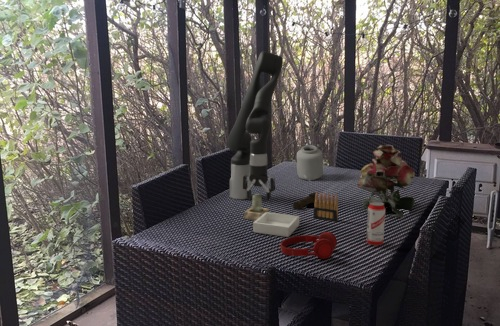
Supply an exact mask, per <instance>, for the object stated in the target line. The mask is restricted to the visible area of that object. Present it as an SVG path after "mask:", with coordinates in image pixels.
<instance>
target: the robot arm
mask: <svg viewBox="0 0 500 326" xmlns="http://www.w3.org/2000/svg"><path fill="white" fill-rule="evenodd" d="M283 63H284V61H283V57H282V56H281V55H277V54H275V53H272V52H269V51H265V50H262V51H261V52H260V53H259V56H258V58H257V61H256V64H255V67H254V71H253V73H252V77H251V80H250V83H249V85H248V88H247V91H246V93H245V96H244V98H243V101H242V104H241V107H240V110H239V112H238V115H237V118H236V120H235V123H234V124H233V127H232V128H231V129H230V132H229V135H228V136H227V147H228V149H229V150H230V151H232V152H236V153H235V154H234V155H233V156H232V157H231V159H230V172H231V173H230V176H231V177H230V178H229V198H231V199H234V200H247V199H248V200H252V188H254V187H260V188H263V189H264V190H265V191H266V201H267V202H268V201H270V200H271V198H272V192H274V191H276V180H275V177H274V176H272V177H269V176H268V154H267V153H268V152H267V143H268V137H269V134H270V131H271V126H272V125H271V124H272V123H271V120H270V119H269V118H268V117H265V116H267V115H269V113H270V109H271V104H272V100H273V95H274V92H275V89H276V87H277V84H278V81H279V77H280V74H281V71H282V68H283ZM262 73H264V74H267V75H269V76H271V77H270V79H269V81H268V82H267V83H266V84H265V85H264V86H263V87H262V83H261V74H262ZM251 134H253V135H260V137H259V138H254V139H252V136H251ZM269 183H270V185H269Z"/></svg>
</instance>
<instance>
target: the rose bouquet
mask: <svg viewBox="0 0 500 326" xmlns="http://www.w3.org/2000/svg"><path fill="white" fill-rule="evenodd" d="M400 154H401V151H400V150H398V149H396V148H394V145H391V144H380V145H379V146H378V147H376V150H374V151H373V156H374V157H375V158H372V159H371V162H370V163H368V164H366V165H364V166H363V167H362V168H361V170H360V171H359V174H361V175H360V176H359V179H360V180H358V181H357V185H356V186H357V188H358V189H359V188H360V189H362V190H364V191H367V192H370V194H369V197H367V198H366V199H364V200H362V201H361V203H362V205H363V206H362V207H361V210H364V209H366V210H365V211H366V213H368V207H369V205H370V202H374V201H377V202H382V203H384V207H385V211H387V209H389V208H391V210H392V212H394V213H395V214H390V216H391V217H392V216H393V217H396V218H399V217H402V216H403V214H404V213H405V212H403V211H399V210H397V209H405V210H410V211H411V210H412V208H413V209H414V205H415V202H416V201H415V198H414V197H413V196H402V197H401V195H400V189H402V190H407V191H409V190H410V188H409V189H408V188H406V187H408V186H412V184H411V182H412V181H413V179H414V178H415V176H416V172H415V171H414V169H413V168H412V167H411V166H410V165H408V163H407V162H406V161H404V160H403V157H402V156H399V155H400ZM395 187H396V188H398V189H397V190H395ZM388 191H390V194H389V192H388ZM374 195H376V196H379V198H377V197H374ZM386 207H387V208H386ZM385 213H386V214H385V215H388V212H385Z"/></svg>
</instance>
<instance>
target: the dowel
mask: <svg viewBox="0 0 500 326" xmlns="http://www.w3.org/2000/svg"><path fill="white" fill-rule="evenodd" d="M251 200H252V201H251V202H252V203H251V204H252V205H251V207H252V212H257V213H261V208H263V207H262V203H263V202H262V194H259V193H253V194H251Z"/></svg>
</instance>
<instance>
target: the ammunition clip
mask: <svg viewBox="0 0 500 326" xmlns="http://www.w3.org/2000/svg"><path fill="white" fill-rule="evenodd" d="M313 219H315V220H316V219H317V220H321V221H328V222H335V223H336V222H339V200H338V194H335V197H334V194H333V193H331V195H330V193H327V195H326V193H325V192H324V193H323V195H322V192H321V191H320V193H319V194H318V191H316V195H315V202H314V208H313Z"/></svg>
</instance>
